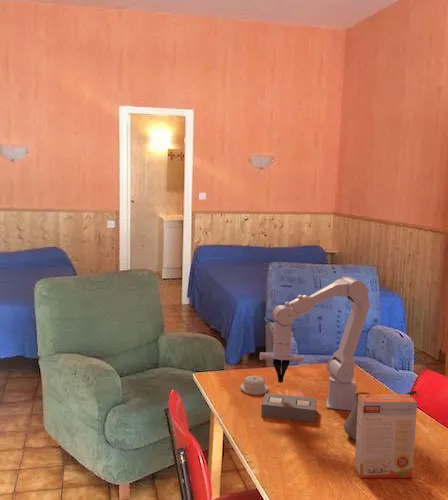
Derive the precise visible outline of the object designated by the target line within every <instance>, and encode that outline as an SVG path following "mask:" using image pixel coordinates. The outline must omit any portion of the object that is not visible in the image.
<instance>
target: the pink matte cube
mask: <svg viewBox="0 0 448 500" xmlns="http://www.w3.org/2000/svg"><path fill="white" fill-rule="evenodd" d="M297 405H303V406H310V401H304V400H297Z"/></svg>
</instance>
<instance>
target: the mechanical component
mask: <svg viewBox="0 0 448 500" xmlns="http://www.w3.org/2000/svg"><path fill="white" fill-rule="evenodd" d="M239 388H241V389H240V391H241V390H242V391H243V392H242V391H241V392H242V393H244V392H245V393H244V394H247V395H252V396H253V395H255V396H257V395H260V396H261V395H265V393H268V391H269V386H268V385H267V384H266V380H265V378H263V377H262V376H258V375H250V376H248V375H247V376H246V377H244V378H243V383H241V384H240V387H239Z"/></svg>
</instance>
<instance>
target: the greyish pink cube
mask: <svg viewBox="0 0 448 500" xmlns="http://www.w3.org/2000/svg"><path fill="white" fill-rule="evenodd" d="M269 402H275V403H282V398H275V397H270V400H269Z"/></svg>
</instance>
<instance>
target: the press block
mask: <svg viewBox="0 0 448 500" xmlns="http://www.w3.org/2000/svg"><path fill="white" fill-rule="evenodd" d="M270 397H275V398H282V403H275V402H269V400H270ZM297 400H304V401H310V406H303V405H297ZM316 406H317V398H316V397H310V396H309V397H307V396H298V395H296V396H295V395H288V394H287V395H286V394H278V393H270V392H269V393H268V392H266V393H264V396H263V400H262V403H261V410H260V411H261V412H260V413H261V414H260V415H261V417H263V418H274V419H275V418H276V419H283V420H284V419H285V420H290V421H291V420H294V421H300V422H301V421H302V422H310V423H315V421H316V411H317V409H316V408H317V407H316Z"/></svg>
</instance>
